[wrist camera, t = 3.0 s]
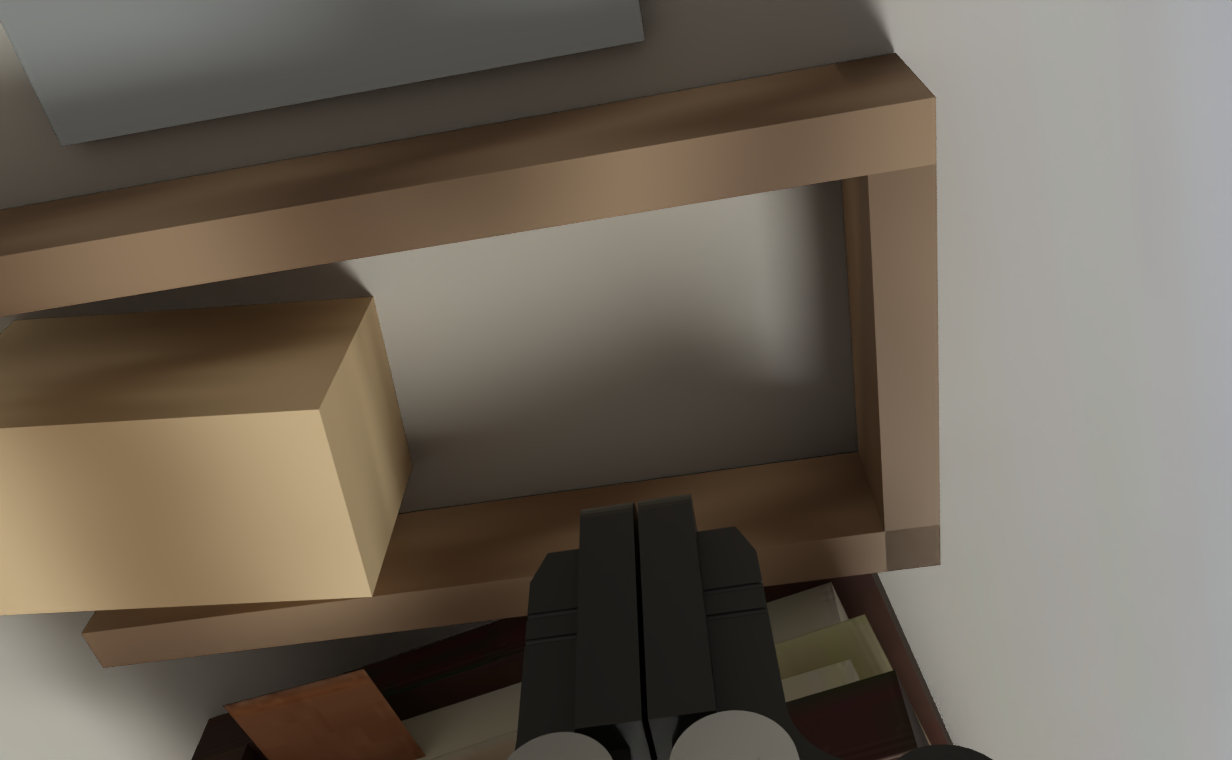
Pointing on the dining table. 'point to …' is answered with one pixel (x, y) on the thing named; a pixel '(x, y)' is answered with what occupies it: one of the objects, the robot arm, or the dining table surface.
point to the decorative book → (492, 674)
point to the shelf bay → (533, 199)
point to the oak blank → (197, 457)
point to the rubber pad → (275, 51)
